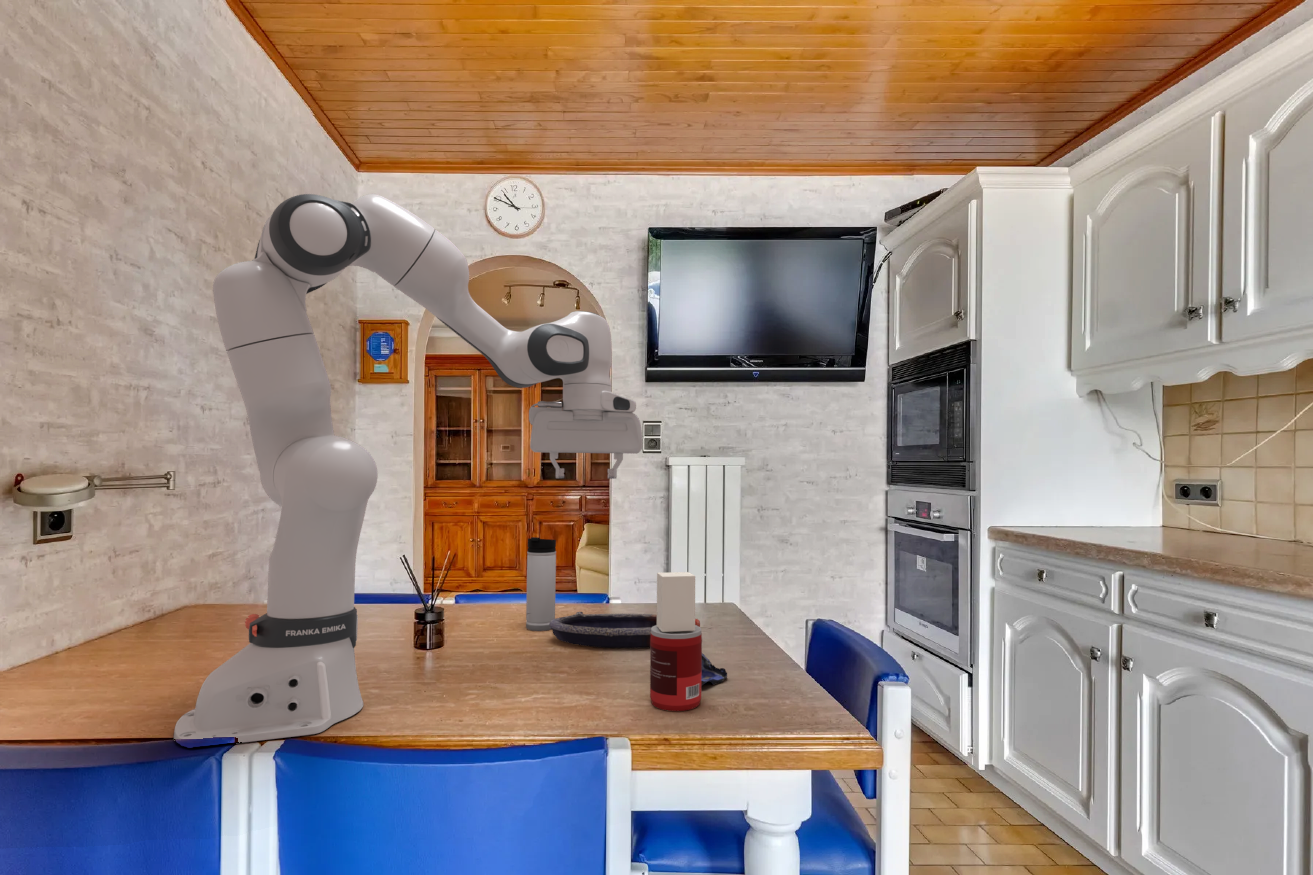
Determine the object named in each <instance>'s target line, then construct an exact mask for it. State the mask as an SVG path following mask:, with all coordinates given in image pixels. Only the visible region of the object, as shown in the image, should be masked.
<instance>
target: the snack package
mask: <svg viewBox="0 0 1313 875" xmlns="http://www.w3.org/2000/svg"><path fill="white" fill-rule="evenodd" d="M727 678H728V672H727V671H726V669H725V668H723V667H721V668H718V667H716V666H715V665H714V664H712V662H711V661H710V659H708V657H707V656H706V655H705V654H704V653H703V652H702V674H701V687H702V686H703V685H705V684H706V683H707V682H710V683H711V684H712V685H716V684H717V685H718V684H721V683H723V682H724V681H725V680H726V679H727Z"/></svg>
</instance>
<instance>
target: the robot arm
mask: <svg viewBox="0 0 1313 875" xmlns="http://www.w3.org/2000/svg"><path fill="white" fill-rule="evenodd" d="M467 260H468V259H467V257H466V256H465V255H464V254H463V252H462V251H461V250H460V249H459V248H458V247H457V246H456V245H455V243H454V242H452V241H451V240H450V239H449V238H447V237H446V236H445V235H444V234H443V233H441V232H440V231H438V229H436V228H435V227H434V226H432V225H431V224H429V223H428V222H427V221H425V220H424V219H423V218H421V217H419V216H418V215H416V214H415V213H413V212H412V211H410V210H408V209H407V208H406V207H404V206H402V205H400V204H398V203H397V202H394V201H393V200H391V199H389V198H387V197H385V196H383V195H380V194H376V193H368V194H365V195H362V196H360V197H358V198H356V199H355V200H352V202H348V201H341V200H337V199H332V198H330V197H327V196H324V195H320V194H314V193H313V194H312V193H301V194H297V195H293V196H291V197H288V198H287V199H285V200H284V201H282V202H281V203H280V204H278V205H277V206H276V208H275V209H274V211H273V212H272V214H271V215H270V217H268V218H267V220H266V222H265V224H264V225H263V228H262V230H261V235H260V238H259V240H258V242H257V247H256V251H255V255H254V258H253V259H252V260H246V261H240V262H239V261H238V262H236V263H234V264H230V265H228V266H226V267H225V268H224V269H222V270H221V271H220V272H219V273H218V274H216V277H215V278H214V281H213V284H212V293H213V302H214V307H215V314H216V318H217V323H218V324H217V325H218V328H219V331H220V336H221V339H222V342H223V345H224V349H225V351H226V355H227V357H228V361H229V363H230V366H231V369H232V372H233V374H234V377H235V379H236V380H235V381H236V383H237V386H238V389H239V392H240V395H241V398H242V401H243V404H244V408H245V410H246V415H247V419H248V425H249V429H250V430H249V431H250V435H251V436H250V437H251V441H252V446H253V450H254V454H255V459H256V463H257V468H258V471H259V478H260V479H259V480H260V483H261V485H262V488H263V490H264V492H265V493H266V495H267V496H268V497H269V499H270V500H271V501H272V502H273V503H275V504H276V505H278V506H279V507H281V508H280V509H281V510H280V515H279V521H278V526H277V532H276V536H275V541H274V544H273V548H272V549H271V552H270V554H269V558H268V572H267V573H268V580H267V605H266V613H264V614H263V615H259V614H258V613H257V614H256V613H252V614H249V615H248V616H247V618H245V621H244V623H245V625H244V626H245V628H246V629H247V630H248V643H249V644H246V646H244V647H243V648H242V649H241V650H239V651H238V652H237V653H236V654H234V655H232V656H231V657H230V658H229V659H227V660H226V661H225V662H223V663H222V664H221V665H219V666H218V667H217V668H215V669H214V670H213V671H211V672H210V673H209V674H208V675H207V676H206V678H205V680H204V682H203V683H202V685H201V687H200V690H199V693H198V695H197V699H196V703H195V708H193V709H191V710H189V711H187V712H186V713H184V714H182V715H181V717H180V718H178V720H177V721H176V724H175V727H174V731H173V740H174V739H203V738H213V737H236V738H238V742H239V743H238V744H240V742H242V743H249V742H250V743H251V742H257V741H265V740H266V741H267V740H275V739H283V738H291V737H300V736H309V735H315V734H319V733H322V732H324V731H325V730H327V729H328V728H330V727H331V726H332V725H334V724H337V723H338V722H342V721H343V720H346V719H348V718H350V717H353V716H354V715H355V714H357V713H358V712H360V711H361V710H362V709H363V707H364V701H363V698H362V695H361V691H360V686H359V681H358V676H357V675H358V674H357V667H356V655H355V653H356V652H355V648H356V646H357V641H358V630H359V629H358V625H359V624H358V622H359V618H358V617H359V616H358V609H357V608H356V607H355V589H356V588H355V583H356V562H357V560H356V559H357V554H358V553H357V552H358V546H359V541H360V537H361V532H362V528H363V525H364V524H363V523H364V520H365V515H366V511H367V505H368V502H369V499H370V498H371V497H372V494H373V493H374V491H375V489H376V486H377V483H378V478H379V477H378V474H379V472H378V467H377V463H376V462H375V458H374V457H373V456H372V454H371V453H370V452H369V451H368V450H367V449H366V448H365V447H363V446H362V445H360V444H358V443H357V442H355V441H354V440H351V439H349V438H346V437H343V436H340V435H335V431H334V427H333V426H334V425H333V418H332V408H331V396H332V385H331V381H330V379H329V376H328V372H327V370H326V369H327V368H326V366H325V362H324V360H323V357H322V354H321V352H320V351H321V350H320V348H319V344H318V341H317V338H316V335H315V333H314V330H313V327H312V324H311V321H310V319H309V316H308V314H307V311H308V310H307V304H306V299H307V298H306V297H307V294H310V293H311V292H313V291H317V290H318V289H320V288H323V287H324V286H325V285H327V284H328V283H330V282H332V281H333V280H335V279H337V278H338V277H339V276H341V274H342V273H343V272H344V270H345V269H346V268H347V267H352V266H355V267H360V268H363V269H366V270H368V271H369V272H372V273H375V274H377V275H378V276H379V277H381V279H383V280H384V281H386V282H387V283H389V284H390V285H391V286H393V287H394V288H395V289H397V290H398V291H400V292H401V293H403V294H404V295H406V296H407V297H408V298H410V299H411V300H413V301H414V302H416V303H417V304H419V305H420V306H422V307H423V308H424V309H426V310H427V311H428V312H429V313H430V314H432V315H433V316H434V317H435V318H437V319H438V320H439V321H440V322H441V323H442V324H444V325H445V326H446V327H447V328H449V329H450V330H451V331H453V332H454V333H455V334H456V335H457V336H458V337H460V338H461V339H462V340H464V342H466V343H467V344H469V345H470V346H471V347H473V348H474V349H475V350H476V351H478V352H479V354H481V355H482V356H484V357H485V359H486V360H487V361H488V362H489V364H490V365H491V366H492V368H493V370H494V371H495V373H496V374H497V376H498V377H500V379H501V380H502V381H503V382H504V383H506V384H507V385H509V386H510V387H513V388H518V389H526V388H529V387H532V386H535V385H537V384H539V383H543V382H548V381H551V380H555V379H560V380H562V401H543V400H540V401H537V403H533V404H532V405H531V406H530V408H529V410H528V422H529V423H530V426H532V427H531V432H530V433H531V434H530V441H529V442H530V443H529V447H530V449H531V451H532V452H534V453H549V460H550V462H551V464H552V465H553V467H554V469H555V479H565V474H564V473H565V468H560V465H559V464H558V462H557V459H559V453H562V454H563V453H566V454H567V453H569V454H570V453H571V454H575V453H576V454H613V459H614V460H616V461H615V463H614V465H613V466H612V468H607V480H609V479H610V480H611V479H612V480H613V479H617V477H618V473H617V472H618V469H619V467H620V465H621V464H622V462H623V460H624V454H639V453H640V452H641V450H643V443H644V442H643V430H642V424H641V421H640V418H639V417H638V415H637V414H635V411H636V409H637V402H636V401H635V400H634V399H631V398H628V397H625V396H622V395H620V394H617V393H614V392H612V389H613V388H612V381H611V378H610V377H611V376H610V374H611V367H612V364H613V349H612V348H613V346H612V345H613V344H612V334H611V329H610V326H609V322H608V320H607V319H605V318H604V317H603V316H601V315H600V314H598V313H595V312H591V311H584V310H575V311H571V312H570V313H568V315H566V316H564V317H562V318H560V319H558V320H555V321H552V322H545V323H541V324H537V325H535V326H532V327H529V328H528V329H525V330H523V331H515V330H512V329H508V328H506V327H505V326H503V325H502V324H501V323H500V322H499V321H498V320H497V319H495V318H494V317H492V315H490V314H489V313H488V312H487V311H486V310H485V309H484V308H482V307H481V306H480V305H478V304H477V303H476V302H475V300H474V299H473V298H472V295H471V294H470V291H469V281H470V270H469V264H468V261H467Z"/></svg>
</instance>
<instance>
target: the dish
mask: <svg viewBox="0 0 1313 875" xmlns="http://www.w3.org/2000/svg"><path fill="white" fill-rule="evenodd" d="M549 625H550V628H551V631H552V635H553V636H555V637H556V639H557V640H559V641H561V642H563V643H568V644H571V645H576V646H582V647H591V648H603V649H605V648H606V649H636V648H637V649H640V648H641V649H642V648H650V639H651V628H652V627H653V626H655V625H657V614H653V613H587V614H585V613H584V612H583V611H577V612H576V613H574V614H571V615H567V616H561V617H557V618H556V617H555V619H553V620H552V621H551V622H550V624H549ZM695 625H697V626H699V627H700V628H701V622H700V620H699V619H698V618H695Z"/></svg>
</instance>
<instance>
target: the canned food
mask: <svg viewBox="0 0 1313 875" xmlns="http://www.w3.org/2000/svg"><path fill="white" fill-rule="evenodd" d="M702 635H703V633H702V627H701V626H700V627H699V626H697V625H695V631H672V632H662V631H661V630H660V629H659V628H658V627H657V625H655V626H653V627H652V628H651V639H650V647H649V648H650V650H649V652H650V653H649V654H650V656H649V658H650V659H649V660H650V661H649V662H650V663H649V664H650V665H649V667H650V668H649V671H650V672H649V675H650V676H649V677H650V680H649V681H650V682H649V689H650V690H649V691H650V692H649V697H650V700H651V701H650V702H651V704H652V705H653V706H654V707H655V708H656V707H657V708H656V709H659V710H661V711H666V710H668V711H667V712H684V711H685V712H686V711H690V710H693V709H695V708H697V707H698V706H700V703H701V700H702V686H701V674H702V653H703V650H702V649H703V645H702V642H703V639H702V638H703V636H702Z"/></svg>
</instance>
